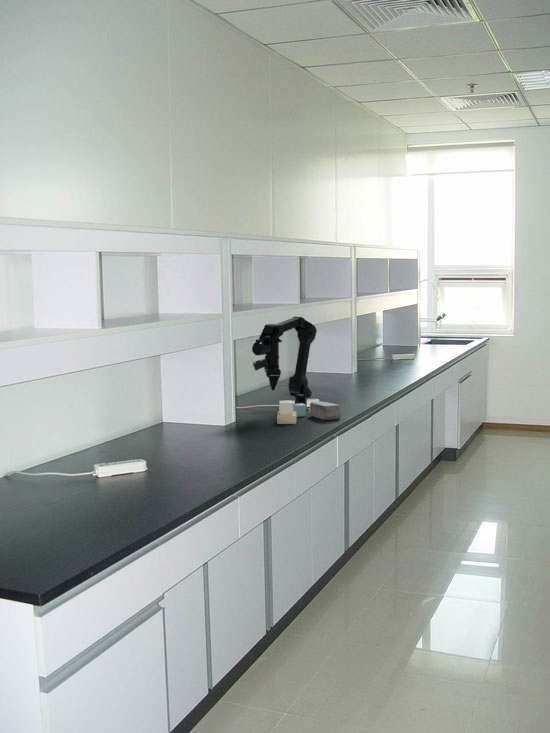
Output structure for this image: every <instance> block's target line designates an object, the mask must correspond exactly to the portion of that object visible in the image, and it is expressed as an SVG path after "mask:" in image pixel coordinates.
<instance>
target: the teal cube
mask: <svg viewBox="0 0 550 733" xmlns="http://www.w3.org/2000/svg"><path fill="white" fill-rule="evenodd" d="M293 412H296V418H298V417H306V416H307V410H306V405H305V404H303V403H296V404H294V403H293Z"/></svg>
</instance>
